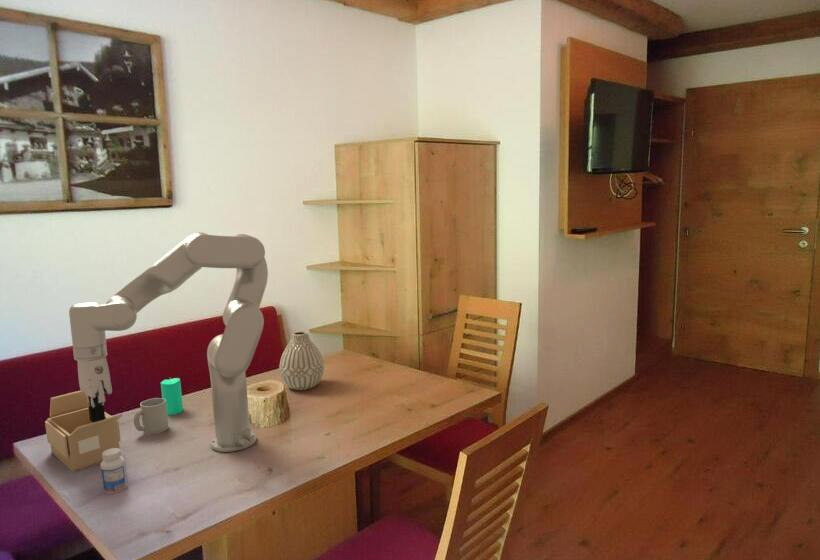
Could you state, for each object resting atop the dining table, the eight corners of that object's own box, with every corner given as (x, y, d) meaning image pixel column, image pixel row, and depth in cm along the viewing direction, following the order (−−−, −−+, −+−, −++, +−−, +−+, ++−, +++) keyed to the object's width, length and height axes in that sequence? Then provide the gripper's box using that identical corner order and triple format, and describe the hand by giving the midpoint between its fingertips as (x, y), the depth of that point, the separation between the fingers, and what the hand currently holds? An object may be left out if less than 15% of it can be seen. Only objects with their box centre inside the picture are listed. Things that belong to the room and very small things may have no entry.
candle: (186, 408, 202) (183, 373, 200) (177, 414, 196) (174, 379, 194) (169, 407, 203) (165, 373, 201) (160, 414, 197) (156, 379, 195)
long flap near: (114, 422, 165) (122, 415, 160) (71, 435, 157) (78, 428, 153) (114, 420, 165) (121, 414, 160) (71, 433, 158) (77, 426, 153)
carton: (123, 455, 168) (119, 420, 166) (70, 473, 158) (65, 437, 157) (99, 437, 181) (95, 405, 179) (48, 453, 171) (43, 419, 169)
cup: (173, 428, 185) (170, 401, 184) (141, 440, 178) (138, 411, 176) (160, 423, 190) (157, 396, 188) (129, 434, 182) (126, 406, 181)
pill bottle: (109, 483, 152) (104, 447, 150) (131, 482, 152) (127, 445, 151) (99, 494, 147) (95, 457, 145) (123, 493, 147) (118, 455, 145)
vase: (321, 393, 212) (318, 338, 209) (276, 394, 212) (272, 339, 209) (328, 378, 228) (325, 326, 224) (286, 379, 228) (282, 328, 225)
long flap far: (91, 405, 177) (93, 388, 174) (50, 417, 169) (51, 399, 166) (90, 404, 177) (92, 387, 174) (49, 415, 170) (50, 397, 166)
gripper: (117, 353, 151) (124, 423, 154) (95, 343, 162) (102, 409, 165) (84, 360, 146) (92, 432, 149) (64, 349, 156) (72, 417, 159)
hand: (97, 420), depth 157 cm, fingers closed
